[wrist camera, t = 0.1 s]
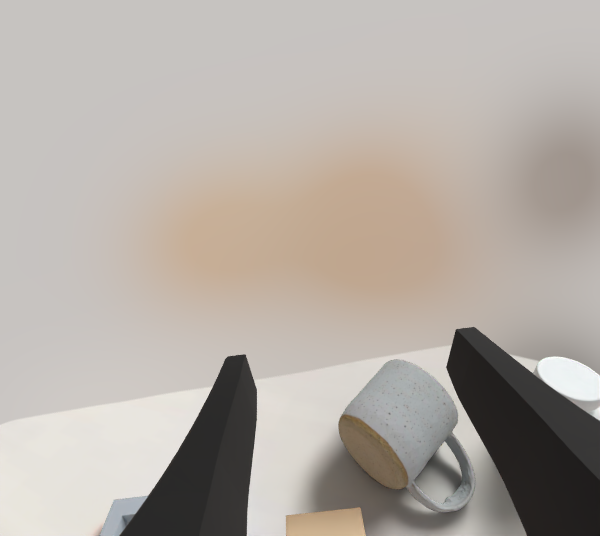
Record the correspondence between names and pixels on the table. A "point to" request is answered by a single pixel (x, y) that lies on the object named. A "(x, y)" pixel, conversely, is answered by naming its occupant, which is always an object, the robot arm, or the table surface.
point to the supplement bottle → (572, 382)
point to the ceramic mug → (405, 431)
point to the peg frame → (121, 515)
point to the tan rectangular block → (326, 523)
